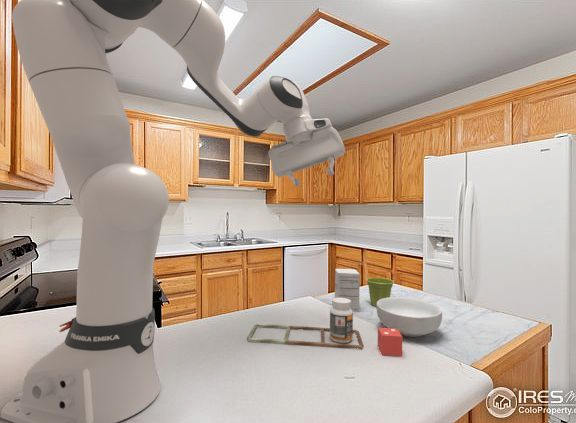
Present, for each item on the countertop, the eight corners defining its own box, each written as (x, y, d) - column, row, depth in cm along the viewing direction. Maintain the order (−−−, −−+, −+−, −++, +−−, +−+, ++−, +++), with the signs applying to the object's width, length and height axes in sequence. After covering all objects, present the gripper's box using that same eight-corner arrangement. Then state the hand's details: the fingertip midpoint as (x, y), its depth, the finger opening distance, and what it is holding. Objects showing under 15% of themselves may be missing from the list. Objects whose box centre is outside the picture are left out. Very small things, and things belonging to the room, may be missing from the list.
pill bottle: (352, 345, 70) (353, 304, 70) (328, 342, 72) (329, 302, 72) (352, 335, 76) (352, 297, 76) (330, 333, 77) (331, 296, 77)
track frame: (246, 341, 71) (246, 339, 71) (255, 325, 81) (255, 323, 81) (364, 349, 68) (364, 346, 68) (358, 332, 78) (358, 329, 78)
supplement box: (334, 303, 102) (334, 268, 102) (355, 304, 102) (356, 268, 102) (336, 311, 95) (337, 272, 95) (359, 311, 94) (360, 273, 94)
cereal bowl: (378, 316, 91) (378, 293, 91) (437, 324, 85) (437, 300, 85) (373, 338, 75) (374, 310, 75) (446, 350, 69) (446, 320, 69)
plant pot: (360, 304, 102) (360, 279, 102) (374, 299, 109) (375, 276, 109) (384, 311, 95) (385, 285, 95) (398, 305, 102) (398, 280, 102)
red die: (381, 355, 66) (382, 334, 66) (377, 346, 70) (377, 327, 70) (402, 356, 65) (402, 336, 65) (396, 347, 70) (397, 328, 70)
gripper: (263, 143, 80) (274, 188, 76) (334, 116, 76) (350, 162, 72) (270, 152, 85) (281, 195, 81) (337, 128, 82) (352, 172, 77)
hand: (314, 180), depth 76 cm, fingers open, 8 cm apart
